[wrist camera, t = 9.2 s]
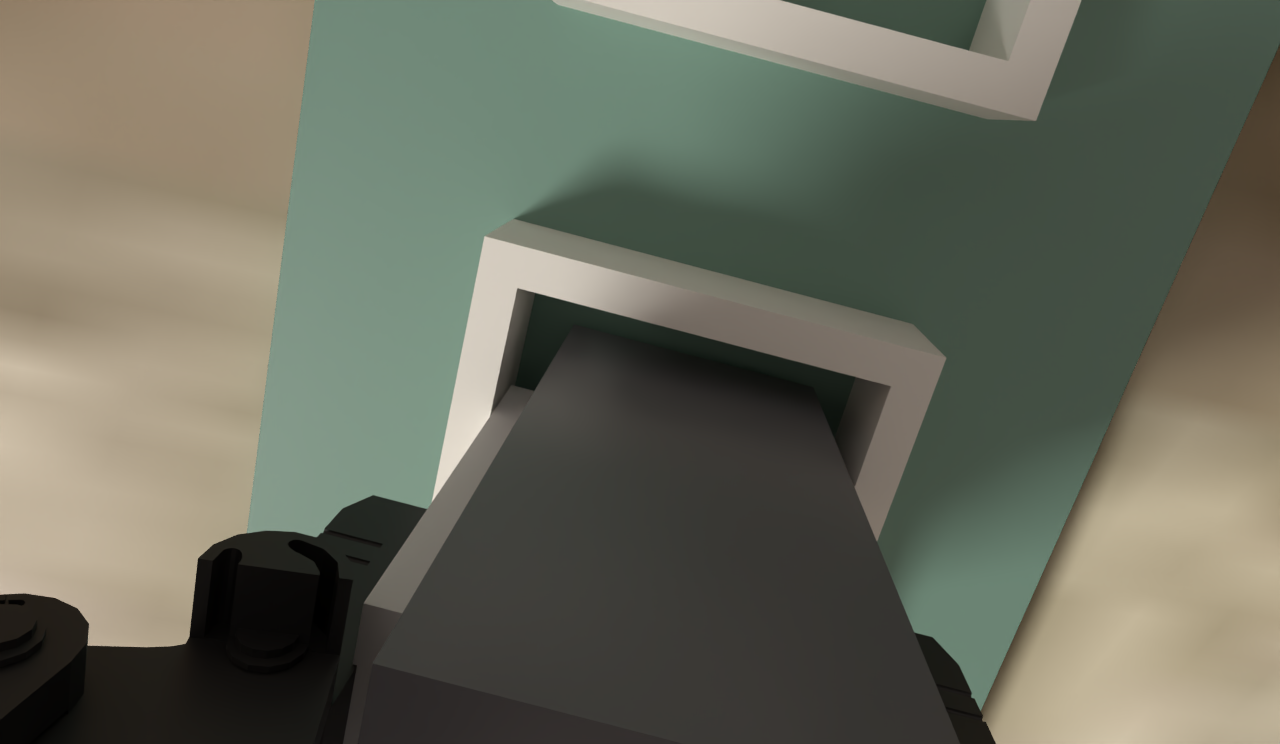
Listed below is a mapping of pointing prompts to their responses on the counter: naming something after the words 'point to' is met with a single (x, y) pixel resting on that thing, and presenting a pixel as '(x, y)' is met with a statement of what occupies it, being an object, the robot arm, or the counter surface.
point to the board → (756, 241)
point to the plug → (658, 576)
